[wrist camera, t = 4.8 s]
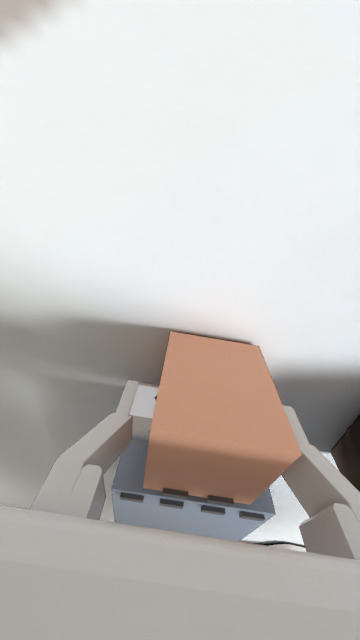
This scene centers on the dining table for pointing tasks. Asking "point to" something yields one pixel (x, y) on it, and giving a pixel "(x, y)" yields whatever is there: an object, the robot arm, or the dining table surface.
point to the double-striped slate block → (179, 504)
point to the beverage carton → (349, 454)
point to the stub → (217, 423)
